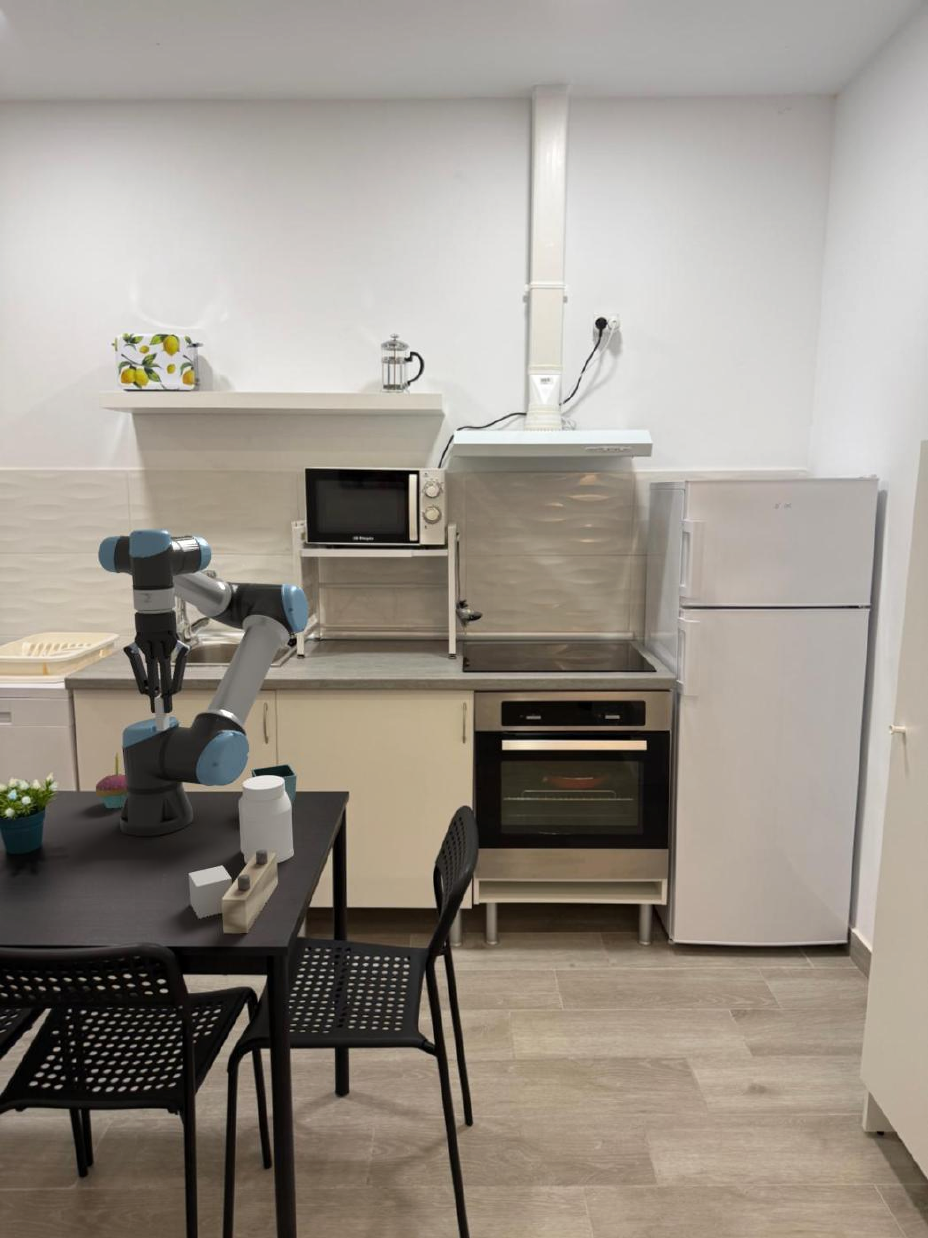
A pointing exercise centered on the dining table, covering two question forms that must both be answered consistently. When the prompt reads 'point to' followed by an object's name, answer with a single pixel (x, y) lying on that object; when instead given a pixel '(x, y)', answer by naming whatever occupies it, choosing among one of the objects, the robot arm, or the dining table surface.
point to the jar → (265, 818)
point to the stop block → (249, 892)
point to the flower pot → (284, 773)
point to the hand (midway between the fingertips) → (163, 728)
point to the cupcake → (112, 789)
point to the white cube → (208, 890)
